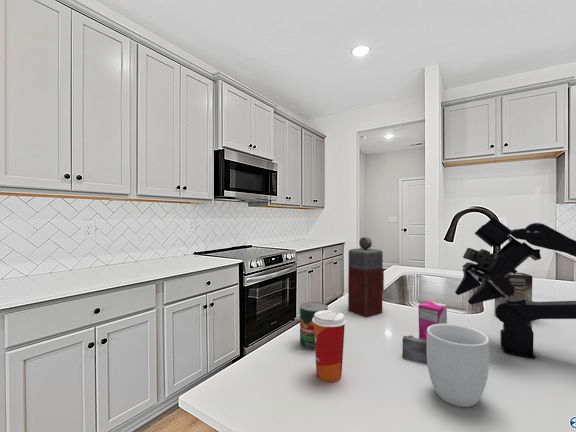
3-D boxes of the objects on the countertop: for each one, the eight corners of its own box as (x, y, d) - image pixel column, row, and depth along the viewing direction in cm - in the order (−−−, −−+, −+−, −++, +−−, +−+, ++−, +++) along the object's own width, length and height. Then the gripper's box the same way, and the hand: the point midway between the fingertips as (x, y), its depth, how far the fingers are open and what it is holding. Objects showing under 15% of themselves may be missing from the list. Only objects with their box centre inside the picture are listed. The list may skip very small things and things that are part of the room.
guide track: (456, 354, 80) (457, 335, 80) (455, 370, 72) (456, 349, 72) (408, 343, 86) (408, 326, 86) (402, 357, 78) (402, 338, 78)
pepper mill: (386, 311, 113) (387, 237, 113) (366, 317, 107) (366, 238, 107) (368, 305, 121) (368, 235, 120) (347, 310, 115) (348, 236, 114)
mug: (441, 369, 72) (441, 315, 72) (497, 388, 64) (497, 327, 64) (418, 398, 61) (418, 333, 61) (481, 424, 53) (482, 351, 53)
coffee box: (501, 321, 104) (502, 274, 103) (493, 315, 110) (494, 270, 110) (532, 323, 102) (533, 275, 101) (522, 317, 108) (523, 272, 108)
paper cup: (323, 363, 75) (323, 307, 74) (352, 374, 70) (352, 314, 70) (305, 377, 69) (305, 315, 68) (334, 389, 64) (334, 323, 64)
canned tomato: (329, 340, 88) (329, 302, 88) (325, 352, 81) (325, 311, 80) (303, 337, 90) (303, 300, 90) (296, 349, 83) (296, 308, 83)
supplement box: (426, 338, 90) (427, 300, 89) (448, 345, 85) (448, 304, 85) (417, 344, 86) (418, 304, 86) (439, 351, 81) (439, 309, 81)
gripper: (469, 235, 92) (430, 270, 94) (501, 241, 74) (452, 284, 76) (498, 262, 91) (458, 297, 93) (537, 274, 72) (486, 318, 74)
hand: (462, 298), depth 84 cm, fingers open, 9 cm apart
